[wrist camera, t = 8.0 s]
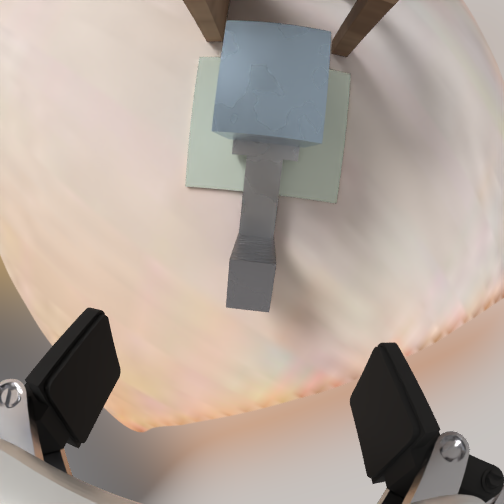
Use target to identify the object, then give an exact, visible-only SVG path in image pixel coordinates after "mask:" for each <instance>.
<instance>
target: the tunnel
mask: <svg viewBox="0 0 504 504" xmlns="http://www.w3.org/2000/svg"><path fill="white" fill-rule="evenodd" d="M183 1H184V3H185V5H186V6H187V8H188V10H189V11H190V13H191V15H192V16H193V18H194V20H195V21H196V23H197V25H198V27H199V28H200V30H201V32H202V34H203V35H204V37H205V39H206V41H207V42H209V41H223V37H224V31H225V25H226V19H227V14H228V8H229V3H230V0H183ZM398 1H399V0H357V2H356V3H355V5H354V6H353V8H352V9H351V11H350V13H349V14H348V16H347V17H346V19H345V21H344V22H343V24H342V25H341V27H340V29H339V30H338V32H337V34H336V35H335V37H334V39H333V40H332V52H331V54H336V55H340V56H345V57H347V56H348V55H349V54H350V53H351V52H352V51H353V49H354V48H355V47H356V46H357V45H358V44H359V43H360V42H361V40H362V39H363V38H364V37H365V36H366V35H367V34H368V33H369V32H370V30H371V29H372V28H373V27H374V26H375V25H376V24H377V23H378V22H379V21H380V20H381V19H382V17H383V16H384V15H385V14H386V13H387V12H388V11H389V10H390V9H391V8H392V7H393V6H394V5H395V4H396V3H397V2H398Z"/></svg>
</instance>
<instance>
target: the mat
mask: <svg viewBox="0 0 504 504" xmlns="http://www.w3.org/2000/svg"><path fill="white" fill-rule="evenodd" d="M220 60H221V57H200V58H199V64H198V71H197V78H196V85H195V92H194V100H193V108H192V117H191V126H190V135H189V146H188V158H187V171H186V185H185V186H187V187H201V188H213V189H224V190H235V191H243V188H244V178H245V168H246V159H247V156H246V155H235V154H232V147H233V140H232V139H227V138H225V137H223V136H221V135H219V134H216V133H214V132H212V123H213V114H214V105H215V97H216V89H217V81H218V74H219V67H220ZM350 76H351V74H349V73H344V72H340V71H336V70H331V69H329V78H328V90H327V102H326V112H325V122H324V131H323V140H322V144H318V145H314V146H310V147H305V148H302V147H300V149H299V158H298V162H297V161H290V160H283V164H282V173H281V181H280V189H279V195H280V196H287V197H295V198H303V199H310V200H317V201H323V202H330V203H336V202H337V196H338V189H339V182H340V175H341V168H342V161H343V153H344V144H345V136H346V126H347V116H348V105H349V92H350Z"/></svg>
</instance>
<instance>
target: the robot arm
mask: <svg viewBox="0 0 504 504" xmlns="http://www.w3.org/2000/svg"><path fill="white" fill-rule="evenodd" d="M119 376H120V366H119V362H118V358H117V354H116V350H115V346H114V342H113V338H112V333H111V329H110V324H109V319H108V317H107V316H106V315H105V313H104V312H103V311H102V310H98V309H94V308H87V309H86V310H85V311H84V312H83V313H82V314H81V315H80V316H79V317H78V318H77V319H76V321H75V322H74V323H73V324H72V325H71V326H70V327H69V328H68V329H67V330H66V332H65V333H64V334H63V335H62V336H61V337H60V338H59V339H58V341H57V342H56V343H55V344H54V345H53V346H52V348H51V349H50V350H49V351H48V352H47V353H46V355H45V356H44V357H43V358H42V359H41V361H40V362H39V363H38V364H37V366H36V367H35V368H34V369H33V370H32V372H31V373H30V374H29V375H28V377H27V378H26V379H25V381H26V382H27V383H26V384H25V385H23V383H21V382H20V381H18V380H16V379H7V380H4V381H2V382H0V504H141V503H138V502H135V501H132V500H129V499H126V498H123V497H120V496H117V495H115V494H112V493H109V492H107V491H104V490H102V489H99V488H97V487H95V486H92V485H90V484H88V483H86V482H84V481H81V480H79V479H77V478H75V477H73V475H72V472H71V469H70V467H69V463H68V461H67V457H66V454H65V450H64V446H65V444H66V443H68V444H70V445H72V446H75V447H77V448H79V447H80V445H81V443H84V442H85V441H86V440H87V438H88V436H89V434H90V432H91V430H92V428H93V426H94V424H95V422H96V420H97V418H98V416H99V414H100V412H101V410H102V408H103V407H104V405H105V403H106V401H107V399H108V397H109V395H110V393H111V392H112V390H113V388H114V386H115V384H116V382H117V380H118V379H119ZM350 406H351V409H352V413H353V417H354V421H355V425H356V429H357V433H358V438H359V442H360V446H361V450H362V455H363V458H364V464H365V468H366V473H367V476H368V477H369V478H371V479H372V483H373V484H375V483H380V482H384V481H385V482H386V486H387V488H386V490H385V492H384V493H383V495H382V497H381V498H380V500H379V501H378V503H377V504H504V477H503V474H502V471H501V470H500V469H499V468H498V467H496V466H494V465H492V464H489V463H487V462H485V461H483V460H480V459H478V458H476V457H474V456H471V455H469V450H470V449H469V444H468V442H467V441H466V439H465V438H464V437H463V436H462V435H461V434H459V433H457V432H453V431H450V432H445V433H443V434H441V435H440V433H439V430H440V428H439V426H438V423H437V421H436V419H435V417H434V415H433V413H432V411H431V408H430V406H429V404H428V402H427V400H426V398H425V396H424V394H423V392H422V390H421V388H420V386H419V384H418V382H417V380H416V378H415V376H414V374H413V372H412V371H411V369H410V367H409V365H408V363H407V361H406V359H405V358H404V356H403V354H402V352H401V350H400V348H399V347H398V345H397V344H396V343H380V344H379V345H378V347H375V348H374V349H373V351H372V354H371V356H370V358H369V360H368V363H367V365H366V367H365V369H364V371H363V373H362V375H361V377H360V379H359V381H358V383H357V386H356V387H355V389H354V391H353V393H352V395H351V398H350Z"/></svg>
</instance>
